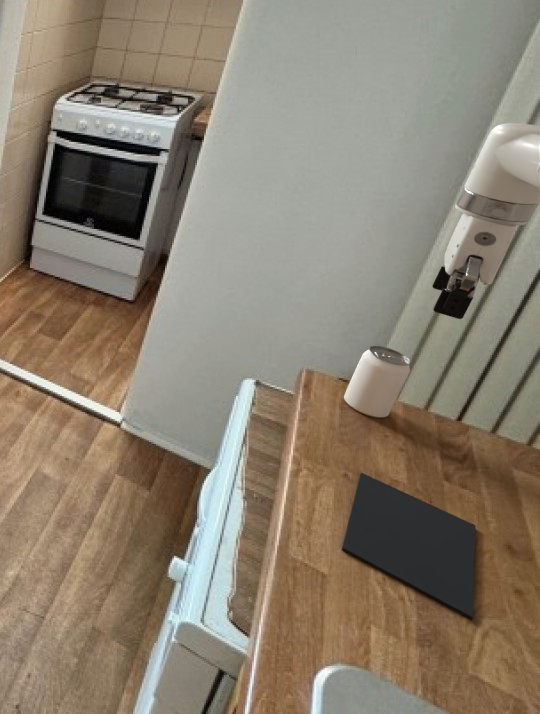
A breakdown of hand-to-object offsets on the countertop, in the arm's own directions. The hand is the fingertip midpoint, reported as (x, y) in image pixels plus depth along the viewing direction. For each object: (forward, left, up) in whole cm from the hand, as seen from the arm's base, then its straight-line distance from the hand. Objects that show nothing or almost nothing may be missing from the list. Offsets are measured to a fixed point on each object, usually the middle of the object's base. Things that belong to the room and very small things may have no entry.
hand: (446, 302), depth 96 cm
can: (+3, -9, -29) cm, 30 cm away
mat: (-5, +23, -28) cm, 37 cm away
